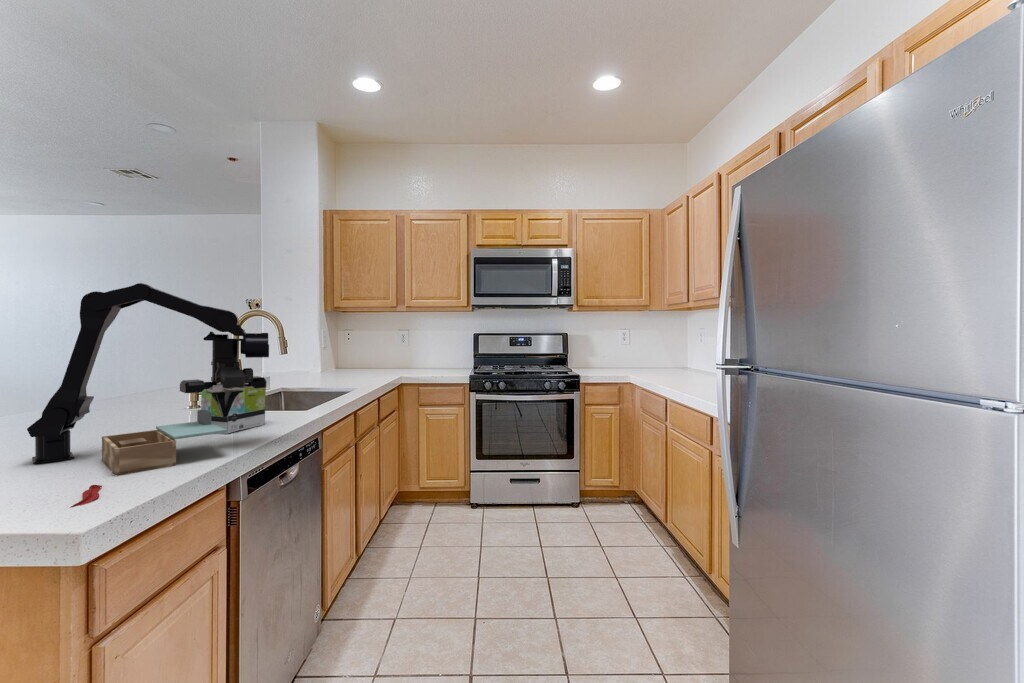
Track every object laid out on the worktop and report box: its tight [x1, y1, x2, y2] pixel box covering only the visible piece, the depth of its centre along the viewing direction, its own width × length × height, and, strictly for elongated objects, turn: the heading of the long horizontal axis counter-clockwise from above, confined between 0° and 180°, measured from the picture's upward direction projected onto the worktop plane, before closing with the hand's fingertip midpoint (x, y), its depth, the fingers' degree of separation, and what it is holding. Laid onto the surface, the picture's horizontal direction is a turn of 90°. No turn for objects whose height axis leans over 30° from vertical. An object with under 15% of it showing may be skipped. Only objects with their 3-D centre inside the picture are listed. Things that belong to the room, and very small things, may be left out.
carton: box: [101, 429, 177, 476], centre depth 103 cm, size 16×10×6 cm, turn 49°
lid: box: [155, 409, 227, 440], centre depth 110 cm, size 16×10×4 cm, turn 49°
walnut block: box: [118, 438, 148, 448], centre depth 102 cm, size 4×4×4 cm
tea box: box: [200, 386, 267, 435], centre depth 140 cm, size 15×10×15 cm
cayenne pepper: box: [69, 484, 103, 509], centre depth 82 cm, size 12×5×2 cm, turn 13°
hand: (224, 416), depth 120 cm, fingers closed
